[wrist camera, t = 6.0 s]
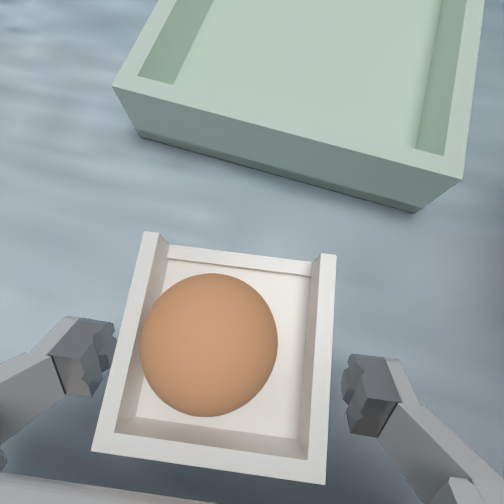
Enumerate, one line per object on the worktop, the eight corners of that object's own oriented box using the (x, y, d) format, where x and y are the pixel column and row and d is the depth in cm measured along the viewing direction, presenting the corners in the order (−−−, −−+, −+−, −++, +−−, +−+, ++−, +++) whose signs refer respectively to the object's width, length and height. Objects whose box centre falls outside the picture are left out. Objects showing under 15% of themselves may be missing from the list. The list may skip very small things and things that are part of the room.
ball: (295, 304, 8) (289, 278, 5) (264, 422, 7) (236, 468, 4) (198, 277, 9) (146, 240, 6) (160, 380, 8) (78, 395, 5)
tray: (452, -12, 22) (494, -83, 19) (414, 213, 17) (462, 179, 13) (235, -59, 24) (232, -135, 20) (140, 136, 19) (111, 85, 15)
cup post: (280, 393, 15) (325, 485, 6) (184, 380, 15) (90, 451, 6) (289, 296, 16) (336, 255, 7) (200, 285, 16) (144, 231, 7)
